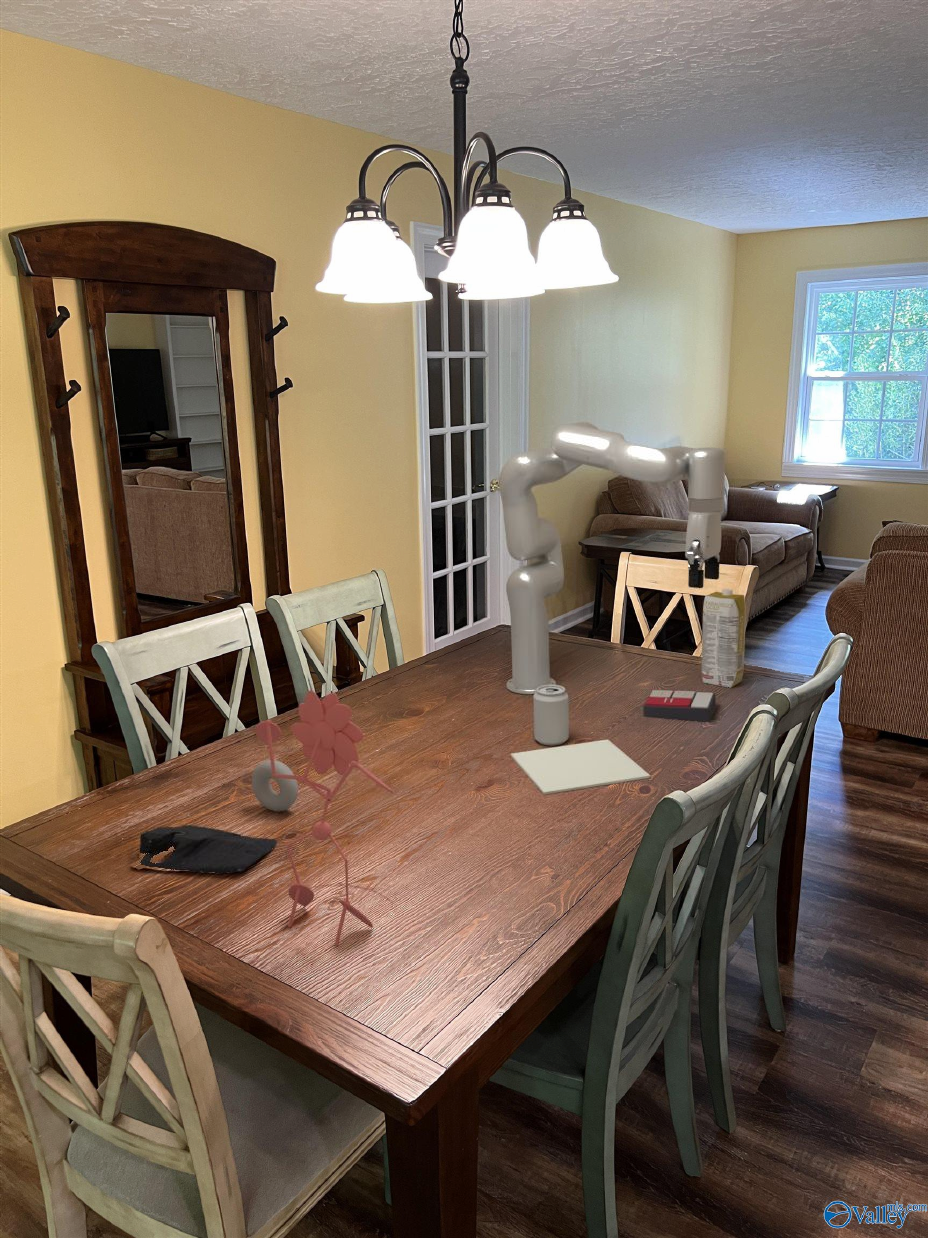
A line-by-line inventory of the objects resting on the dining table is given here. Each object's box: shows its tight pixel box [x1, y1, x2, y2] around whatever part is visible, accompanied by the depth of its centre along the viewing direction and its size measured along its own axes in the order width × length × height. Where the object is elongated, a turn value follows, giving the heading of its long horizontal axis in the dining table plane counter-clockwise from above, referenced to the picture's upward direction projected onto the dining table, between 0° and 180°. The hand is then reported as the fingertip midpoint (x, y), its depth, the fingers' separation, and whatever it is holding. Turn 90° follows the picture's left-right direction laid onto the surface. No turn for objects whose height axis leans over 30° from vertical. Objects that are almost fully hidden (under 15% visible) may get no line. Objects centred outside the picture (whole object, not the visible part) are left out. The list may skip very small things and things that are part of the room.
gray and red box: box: [642, 689, 717, 723], centre depth 212 cm, size 11×4×15 cm
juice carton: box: [701, 588, 747, 688], centre depth 229 cm, size 9×8×24 cm
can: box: [532, 684, 570, 747], centre depth 197 cm, size 8×8×12 cm
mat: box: [510, 739, 651, 796], centre depth 185 cm, size 20×22×1 cm
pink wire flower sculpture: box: [254, 690, 395, 961], centre depth 132 cm, size 15×26×35 cm, turn 56°
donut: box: [251, 759, 299, 812], centre depth 169 cm, size 10×4×10 cm, turn 63°
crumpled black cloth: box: [139, 824, 278, 874], centre depth 155 cm, size 15×22×5 cm
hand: (703, 583), depth 202 cm, fingers open, 9 cm apart
